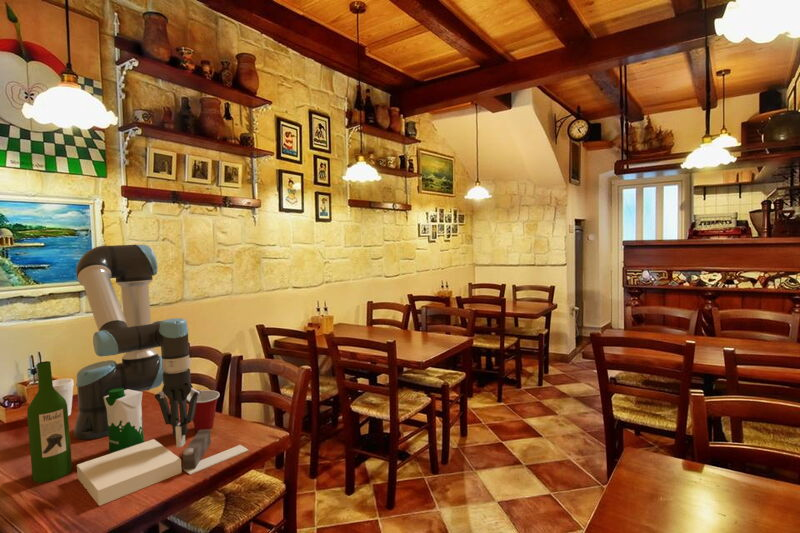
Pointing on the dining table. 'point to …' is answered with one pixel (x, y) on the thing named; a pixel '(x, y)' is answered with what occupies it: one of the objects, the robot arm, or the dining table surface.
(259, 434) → the dining table surface
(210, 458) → the mat
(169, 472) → the cream flat square box
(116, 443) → the milk carton
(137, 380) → the robot arm
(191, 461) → the dark grey block
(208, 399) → the plastic cup
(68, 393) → the foam cup
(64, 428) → the wine bottle
